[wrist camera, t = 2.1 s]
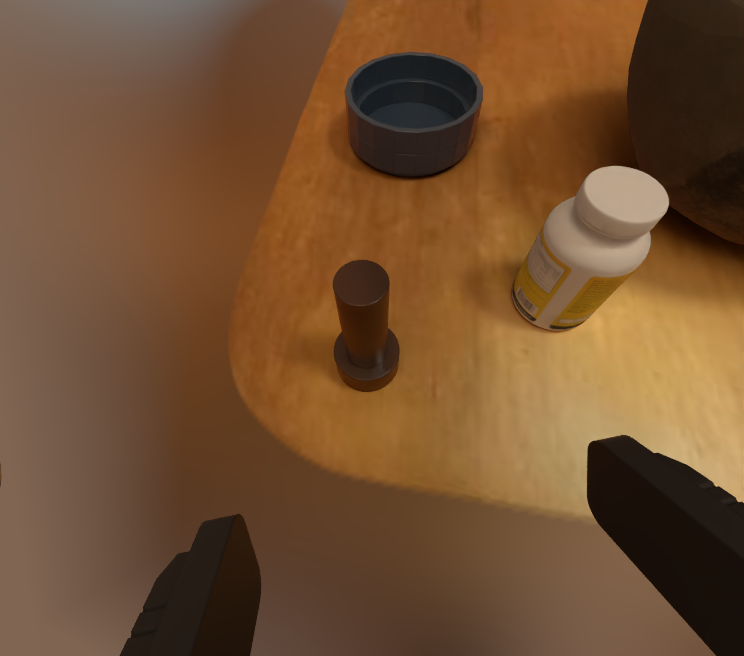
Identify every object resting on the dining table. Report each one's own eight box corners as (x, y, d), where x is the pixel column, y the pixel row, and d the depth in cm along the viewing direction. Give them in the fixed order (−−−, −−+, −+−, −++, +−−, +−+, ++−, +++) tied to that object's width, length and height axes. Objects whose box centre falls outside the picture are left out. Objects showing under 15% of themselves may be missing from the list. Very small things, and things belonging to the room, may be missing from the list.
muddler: (341, 396, 28) (320, 328, 18) (333, 340, 30) (311, 253, 21) (403, 386, 28) (415, 313, 19) (391, 331, 31) (396, 240, 21)
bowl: (359, 189, 39) (356, 140, 34) (342, 110, 45) (337, 59, 40) (486, 172, 39) (501, 122, 34) (452, 96, 46) (461, 45, 41)
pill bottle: (603, 302, 32) (710, 194, 21) (557, 349, 30) (650, 255, 19) (539, 257, 34) (608, 140, 24) (493, 298, 32) (546, 190, 22)
